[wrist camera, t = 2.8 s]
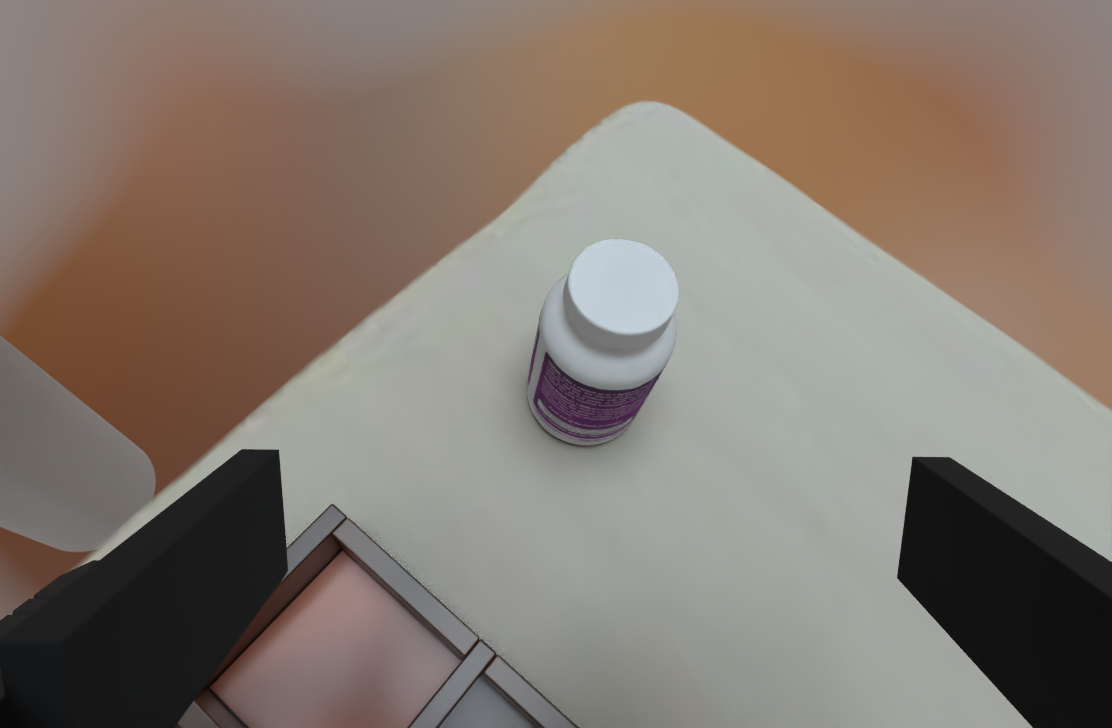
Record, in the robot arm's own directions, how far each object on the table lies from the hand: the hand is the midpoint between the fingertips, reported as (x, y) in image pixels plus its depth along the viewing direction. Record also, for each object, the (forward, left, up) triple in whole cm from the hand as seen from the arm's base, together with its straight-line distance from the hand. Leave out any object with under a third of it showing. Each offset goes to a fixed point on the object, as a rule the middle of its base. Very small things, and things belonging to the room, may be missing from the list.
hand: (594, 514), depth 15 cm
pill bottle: (-4, +9, -16) cm, 19 cm away
